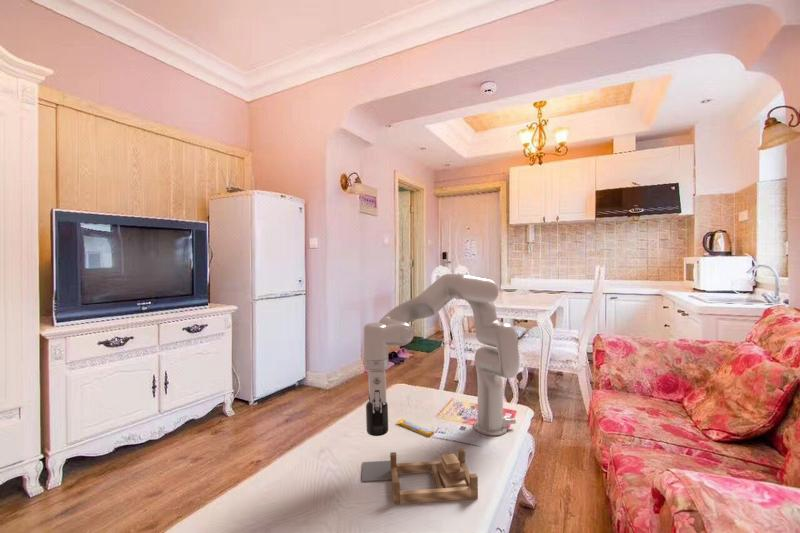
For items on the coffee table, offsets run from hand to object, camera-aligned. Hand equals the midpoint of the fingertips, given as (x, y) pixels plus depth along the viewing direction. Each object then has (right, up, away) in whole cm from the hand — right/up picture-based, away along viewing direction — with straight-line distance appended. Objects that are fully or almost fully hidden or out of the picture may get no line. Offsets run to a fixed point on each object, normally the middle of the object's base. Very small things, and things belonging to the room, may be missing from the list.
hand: (377, 419), depth 114 cm
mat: (0, -16, 0) cm, 17 cm away
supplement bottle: (0, -4, 0) cm, 4 cm away
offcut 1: (+22, -11, -6) cm, 26 cm away
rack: (+16, -16, -6) cm, 24 cm away
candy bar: (+13, -16, +28) cm, 35 cm away
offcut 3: (+22, -17, -6) cm, 28 cm away
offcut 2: (+22, -14, -6) cm, 27 cm away
